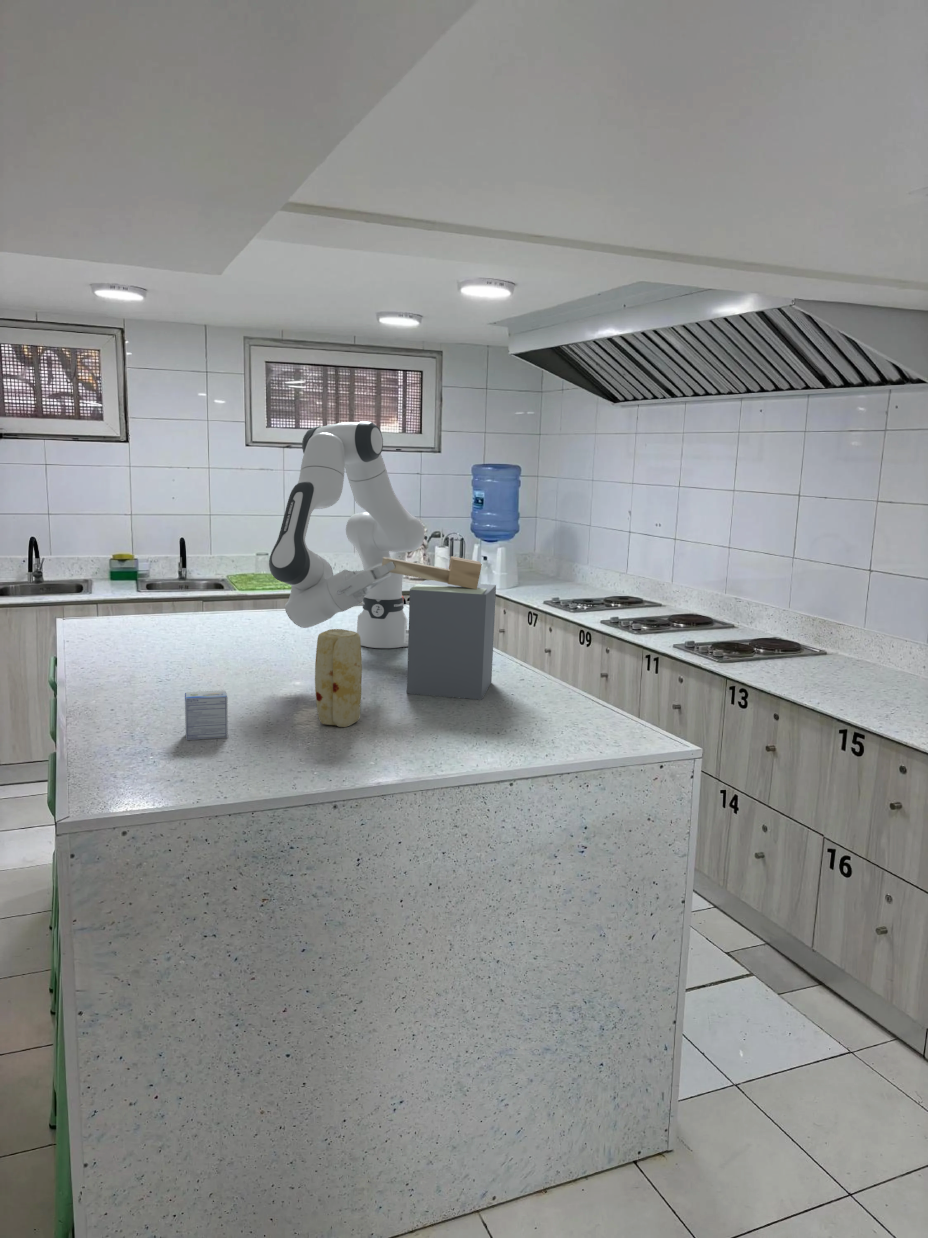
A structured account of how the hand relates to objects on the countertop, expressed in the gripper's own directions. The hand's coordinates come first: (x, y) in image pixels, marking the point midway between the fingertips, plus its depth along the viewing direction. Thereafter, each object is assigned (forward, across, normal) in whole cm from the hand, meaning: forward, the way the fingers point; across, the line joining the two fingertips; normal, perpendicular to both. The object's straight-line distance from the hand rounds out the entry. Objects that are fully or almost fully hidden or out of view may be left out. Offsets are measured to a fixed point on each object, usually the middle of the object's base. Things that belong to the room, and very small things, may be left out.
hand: (396, 563), depth 209 cm
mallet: (+5, +2, +7) cm, 9 cm away
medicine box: (-38, -47, +14) cm, 62 cm away
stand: (-4, +5, +33) cm, 34 cm away
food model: (-19, -32, +25) cm, 44 cm away
